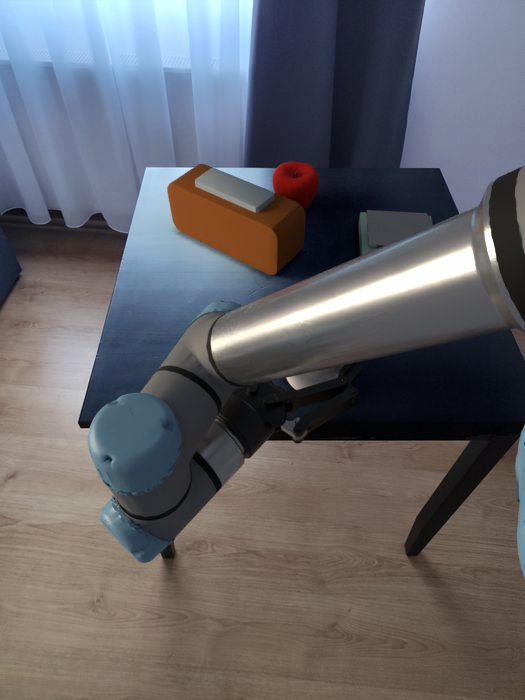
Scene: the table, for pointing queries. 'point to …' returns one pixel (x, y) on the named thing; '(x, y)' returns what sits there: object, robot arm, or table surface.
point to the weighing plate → (393, 226)
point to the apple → (296, 182)
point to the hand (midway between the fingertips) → (334, 328)
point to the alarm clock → (237, 217)
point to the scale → (364, 235)
